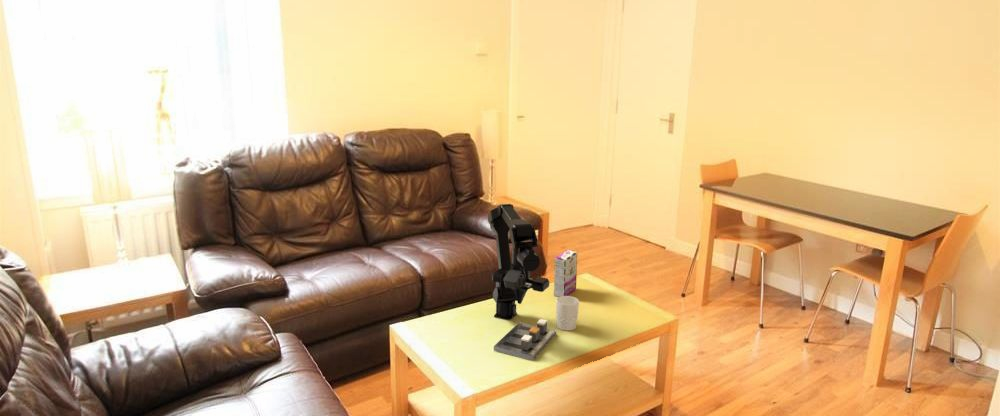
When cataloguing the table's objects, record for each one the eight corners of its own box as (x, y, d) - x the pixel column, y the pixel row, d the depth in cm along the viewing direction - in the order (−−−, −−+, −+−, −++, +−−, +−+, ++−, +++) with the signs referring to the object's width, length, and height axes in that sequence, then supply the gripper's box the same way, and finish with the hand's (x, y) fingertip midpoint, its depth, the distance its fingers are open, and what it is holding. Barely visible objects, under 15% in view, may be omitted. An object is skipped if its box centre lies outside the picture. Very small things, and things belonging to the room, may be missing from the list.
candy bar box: (565, 287, 248) (567, 249, 244) (576, 289, 246) (578, 251, 242) (552, 296, 239) (554, 257, 235) (564, 299, 237) (565, 259, 232)
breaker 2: (528, 340, 199) (529, 330, 198) (532, 336, 202) (532, 326, 201) (535, 341, 198) (536, 331, 197) (539, 337, 201) (539, 328, 200)
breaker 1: (520, 348, 193) (521, 338, 193) (524, 344, 196) (525, 334, 195) (527, 350, 192) (528, 340, 191) (531, 346, 195) (532, 336, 194)
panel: (493, 350, 196) (493, 346, 196) (519, 326, 213) (519, 321, 213) (533, 360, 190) (533, 356, 190) (556, 334, 207) (556, 330, 207)
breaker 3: (536, 332, 205) (536, 322, 204) (540, 328, 207) (540, 318, 207) (543, 333, 204) (543, 324, 203) (546, 330, 206) (547, 320, 205)
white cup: (576, 332, 209) (578, 306, 206) (554, 330, 211) (555, 303, 208) (578, 322, 216) (579, 296, 214) (556, 320, 218) (557, 294, 215)
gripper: (484, 262, 196) (484, 306, 201) (536, 273, 188) (535, 319, 193) (500, 252, 206) (499, 294, 210) (550, 262, 198) (548, 305, 202)
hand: (519, 303), depth 204 cm, fingers closed
